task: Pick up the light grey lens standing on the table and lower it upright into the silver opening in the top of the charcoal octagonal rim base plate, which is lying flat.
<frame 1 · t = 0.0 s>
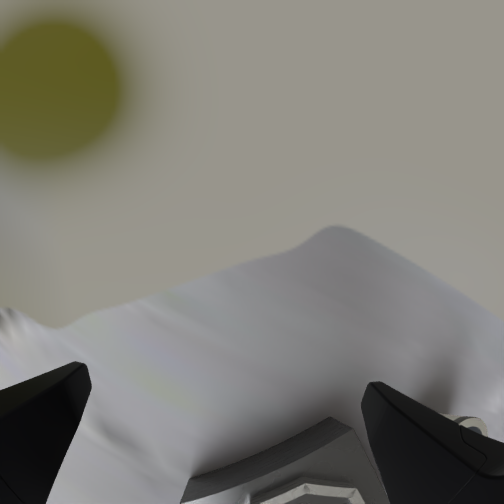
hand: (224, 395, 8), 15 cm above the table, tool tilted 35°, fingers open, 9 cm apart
octagonal rim base plate: (290, 501, 18), on the table
lens: (418, 439, 20), on the table
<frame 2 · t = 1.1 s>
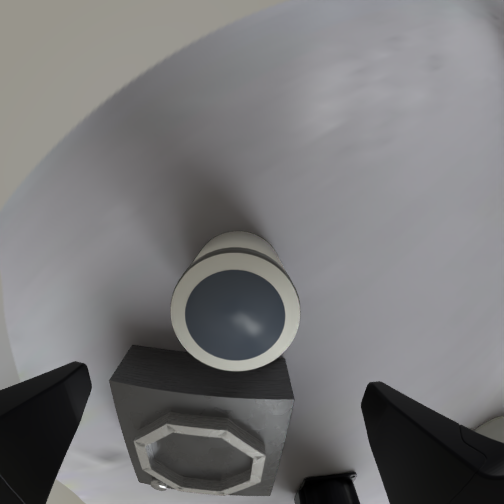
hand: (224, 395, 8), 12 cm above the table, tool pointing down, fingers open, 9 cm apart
octagonal rim base plate: (206, 413, 23), on the table
lens: (237, 274, 20), on the table
kettle: (462, 464, 29), on the table
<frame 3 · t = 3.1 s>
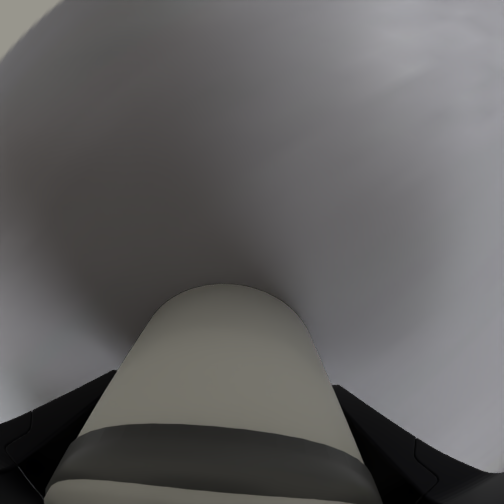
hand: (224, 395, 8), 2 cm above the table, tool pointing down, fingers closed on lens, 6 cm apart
lens: (226, 366, 9), on the table, touching gripper
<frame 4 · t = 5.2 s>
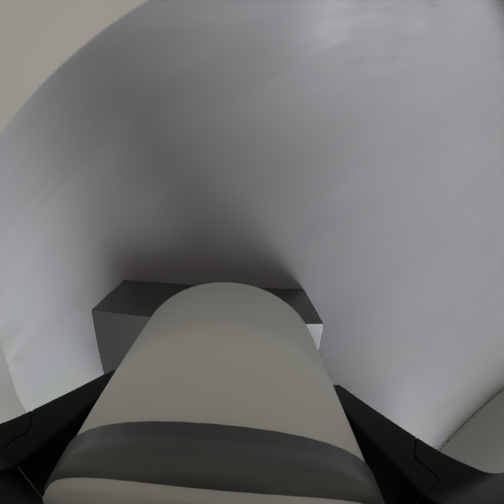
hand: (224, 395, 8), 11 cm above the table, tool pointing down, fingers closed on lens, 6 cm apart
octagonal rim base plate: (211, 368, 20), on the table
lens: (226, 365, 9), point 9 cm above the table, touching gripper
kettle: (484, 437, 27), on the table
when the fingers open (7 cm above the table, at t = 7.7 s): lens stays where it is, resting on octagonal rim base plate.
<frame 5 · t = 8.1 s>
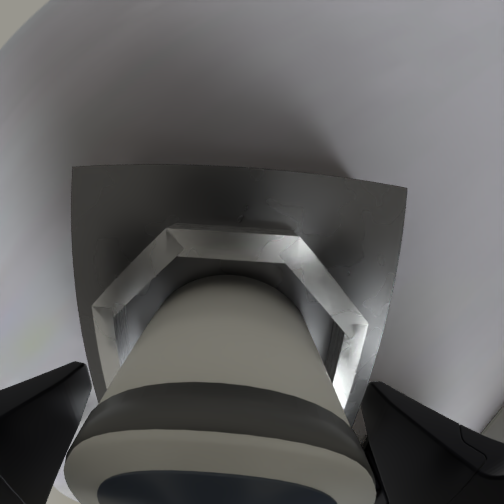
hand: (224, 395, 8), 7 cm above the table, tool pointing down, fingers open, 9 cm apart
octagonal rim base plate: (231, 302, 15), on the table
lens: (228, 352, 10), point 5 cm above the table, touching octagonal rim base plate
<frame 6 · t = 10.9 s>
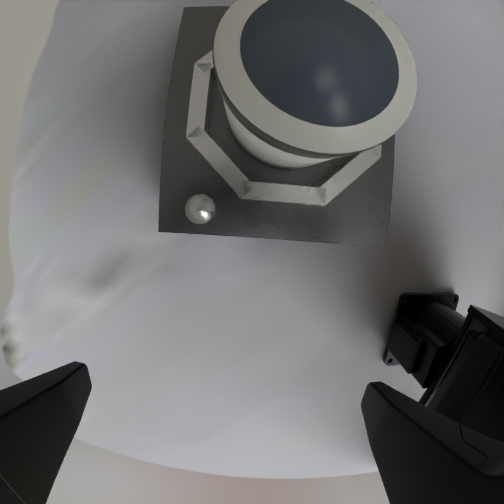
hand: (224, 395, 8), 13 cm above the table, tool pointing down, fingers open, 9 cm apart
octagonal rim base plate: (276, 129, 18), on the table
lens: (288, 110, 13), point 5 cm above the table, touching octagonal rim base plate
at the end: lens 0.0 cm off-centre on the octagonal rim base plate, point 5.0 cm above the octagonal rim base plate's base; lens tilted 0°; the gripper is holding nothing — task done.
